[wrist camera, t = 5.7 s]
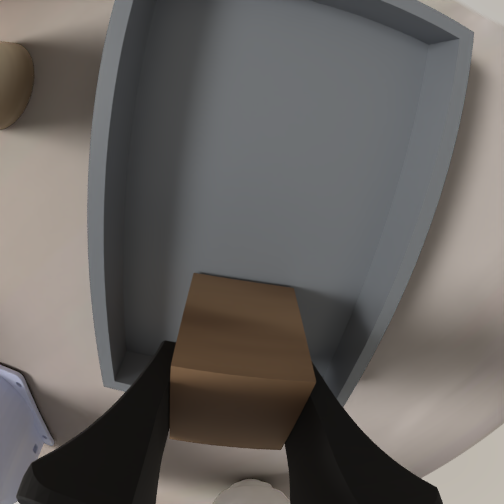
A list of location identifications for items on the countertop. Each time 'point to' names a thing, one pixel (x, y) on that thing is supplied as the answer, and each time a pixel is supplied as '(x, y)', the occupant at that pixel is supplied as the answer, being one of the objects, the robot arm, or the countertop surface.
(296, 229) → the tray
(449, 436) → the countertop surface
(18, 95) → the maple dowel
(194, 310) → the walnut block
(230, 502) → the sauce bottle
